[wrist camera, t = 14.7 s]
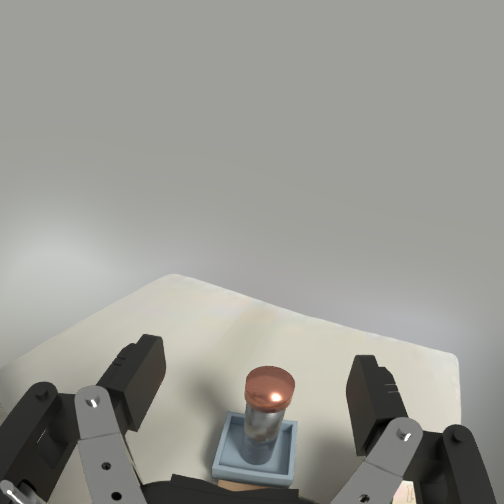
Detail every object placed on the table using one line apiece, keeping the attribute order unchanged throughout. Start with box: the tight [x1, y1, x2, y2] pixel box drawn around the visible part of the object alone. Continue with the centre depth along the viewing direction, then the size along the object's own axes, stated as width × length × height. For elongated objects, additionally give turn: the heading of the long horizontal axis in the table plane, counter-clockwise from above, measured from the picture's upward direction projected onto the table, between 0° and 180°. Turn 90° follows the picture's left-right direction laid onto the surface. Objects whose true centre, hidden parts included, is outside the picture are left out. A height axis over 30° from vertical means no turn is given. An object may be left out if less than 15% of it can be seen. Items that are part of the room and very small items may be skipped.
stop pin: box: [240, 366, 295, 465], centre depth 29 cm, size 5×5×14 cm
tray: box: [212, 411, 298, 489], centre depth 32 cm, size 9×9×3 cm
